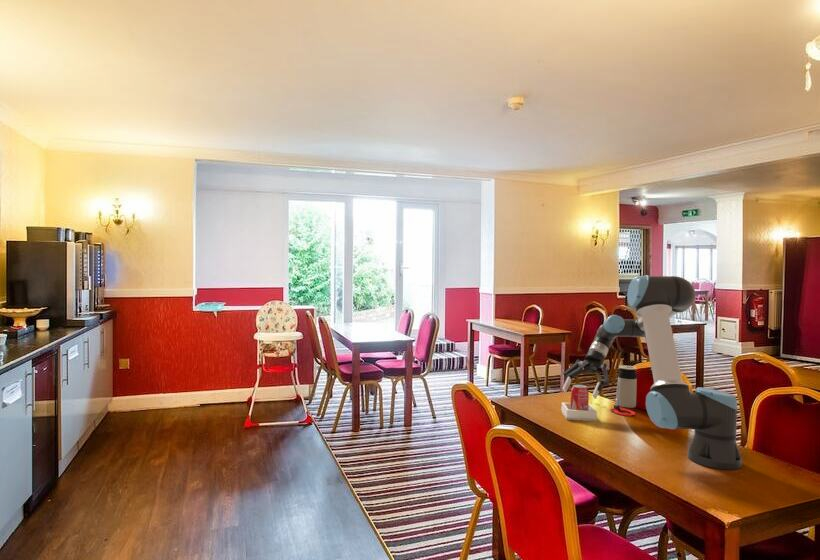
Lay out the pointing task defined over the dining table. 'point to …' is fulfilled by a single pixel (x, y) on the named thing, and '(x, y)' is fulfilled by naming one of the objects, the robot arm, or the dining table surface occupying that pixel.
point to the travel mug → (627, 386)
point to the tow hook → (617, 407)
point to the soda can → (579, 397)
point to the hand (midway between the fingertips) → (578, 393)
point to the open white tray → (579, 413)
